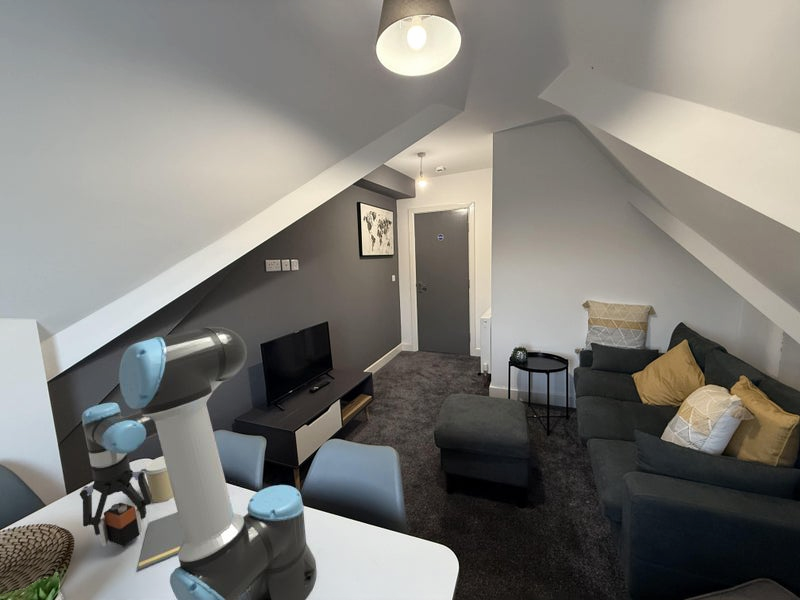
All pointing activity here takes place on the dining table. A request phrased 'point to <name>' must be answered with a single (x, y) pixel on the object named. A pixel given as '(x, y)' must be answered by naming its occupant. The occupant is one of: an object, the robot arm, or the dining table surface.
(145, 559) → the book
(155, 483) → the coffee cup
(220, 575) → the robot arm
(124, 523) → the battery
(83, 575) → the dining table surface
